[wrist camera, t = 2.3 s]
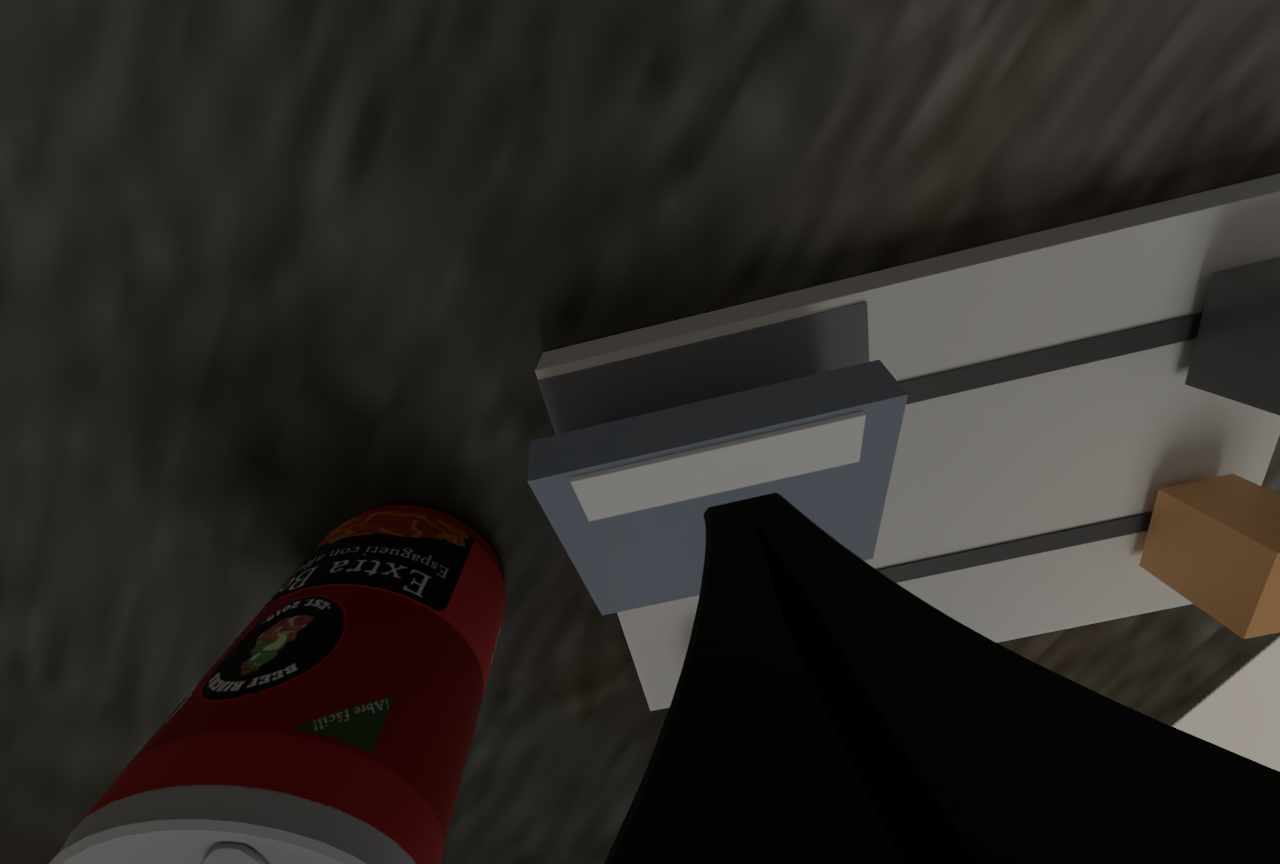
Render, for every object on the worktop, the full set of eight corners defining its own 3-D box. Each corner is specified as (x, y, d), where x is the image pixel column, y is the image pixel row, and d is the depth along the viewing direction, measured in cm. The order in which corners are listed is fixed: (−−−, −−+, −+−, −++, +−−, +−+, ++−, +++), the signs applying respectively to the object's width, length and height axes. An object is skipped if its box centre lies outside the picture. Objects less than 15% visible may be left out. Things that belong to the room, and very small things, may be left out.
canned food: (482, 484, 19) (338, 798, 9) (530, 636, 22) (463, 985, 13) (285, 512, 19) (-70, 851, 9) (362, 659, 23) (164, 1022, 13)
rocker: (854, 523, 17) (874, 562, 16) (599, 578, 18) (602, 619, 17) (879, 359, 12) (911, 398, 11) (530, 440, 13) (526, 486, 12)
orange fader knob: (1207, 551, 19) (1330, 625, 16) (1139, 565, 19) (1247, 641, 16) (1232, 473, 17) (1374, 537, 14) (1158, 489, 18) (1282, 555, 14)
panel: (1172, 565, 22) (1273, 632, 19) (647, 672, 24) (653, 752, 20) (1285, 171, 16) (1475, 164, 12) (543, 352, 17) (524, 391, 14)
